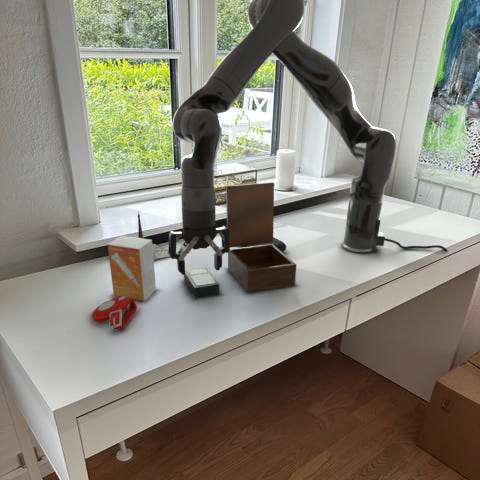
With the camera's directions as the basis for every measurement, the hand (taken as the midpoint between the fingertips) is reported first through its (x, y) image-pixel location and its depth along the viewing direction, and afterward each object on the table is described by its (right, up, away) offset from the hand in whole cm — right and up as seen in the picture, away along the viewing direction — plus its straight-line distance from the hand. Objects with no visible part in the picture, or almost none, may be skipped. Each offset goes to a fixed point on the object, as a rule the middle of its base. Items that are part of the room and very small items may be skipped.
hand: (200, 271), depth 113 cm
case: (+15, -1, +8) cm, 17 cm away
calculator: (0, -4, +2) cm, 4 cm away
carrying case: (+15, +9, +25) cm, 31 cm away
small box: (-15, -6, -1) cm, 16 cm away
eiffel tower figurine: (-18, +6, +19) cm, 26 cm away
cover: (+12, +15, +7) cm, 21 cm away
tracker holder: (-18, -12, -12) cm, 24 cm away
